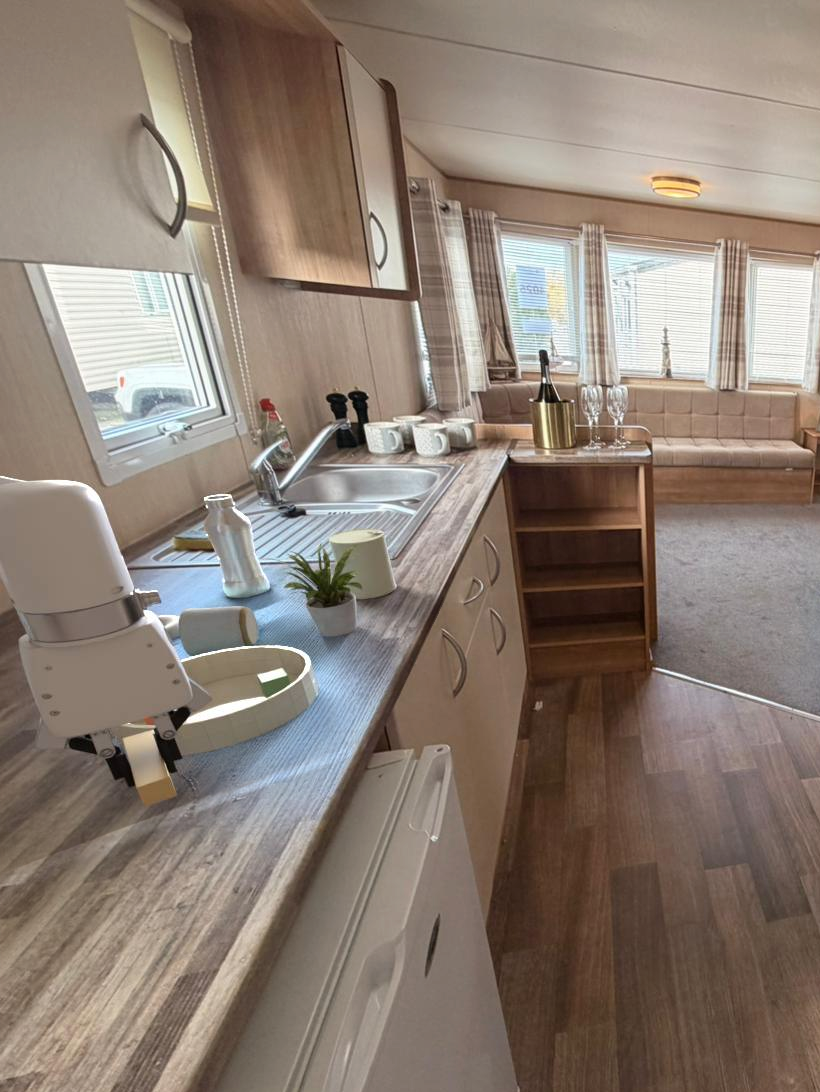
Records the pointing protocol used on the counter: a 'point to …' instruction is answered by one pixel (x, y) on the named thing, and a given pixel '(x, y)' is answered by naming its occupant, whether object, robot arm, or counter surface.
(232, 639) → the grey short cylinder
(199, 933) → the counter surface
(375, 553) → the cream tapered cylinder
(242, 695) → the bowl
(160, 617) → the donut
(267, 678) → the sage block
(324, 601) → the house plant
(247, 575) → the plastic bottle
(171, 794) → the long ochre block
